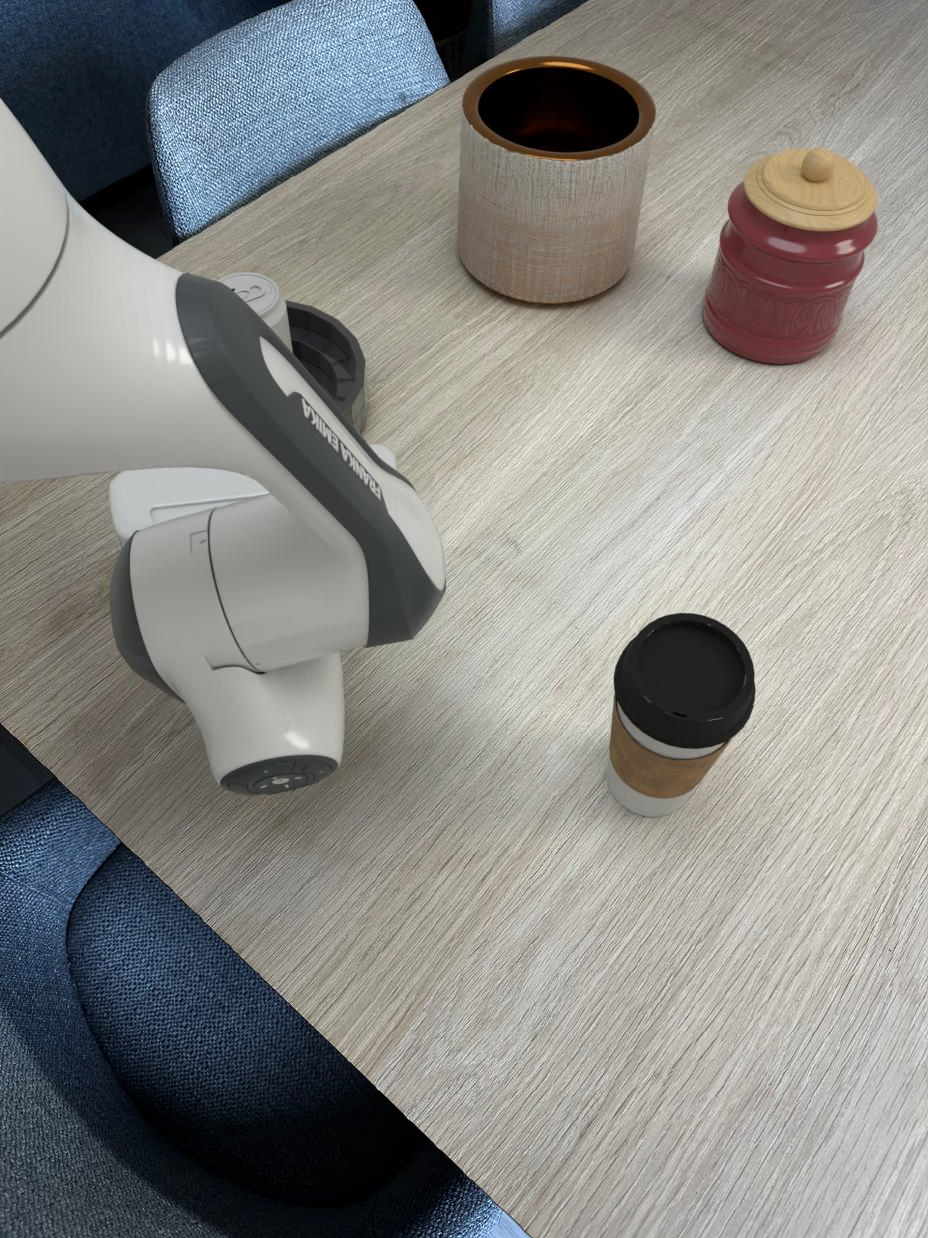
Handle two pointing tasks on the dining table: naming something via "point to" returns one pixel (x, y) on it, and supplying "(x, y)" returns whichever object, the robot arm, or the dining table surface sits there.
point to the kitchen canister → (789, 255)
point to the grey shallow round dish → (330, 359)
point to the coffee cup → (675, 709)
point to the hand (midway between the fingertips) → (252, 426)
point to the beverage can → (262, 300)
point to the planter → (552, 176)
